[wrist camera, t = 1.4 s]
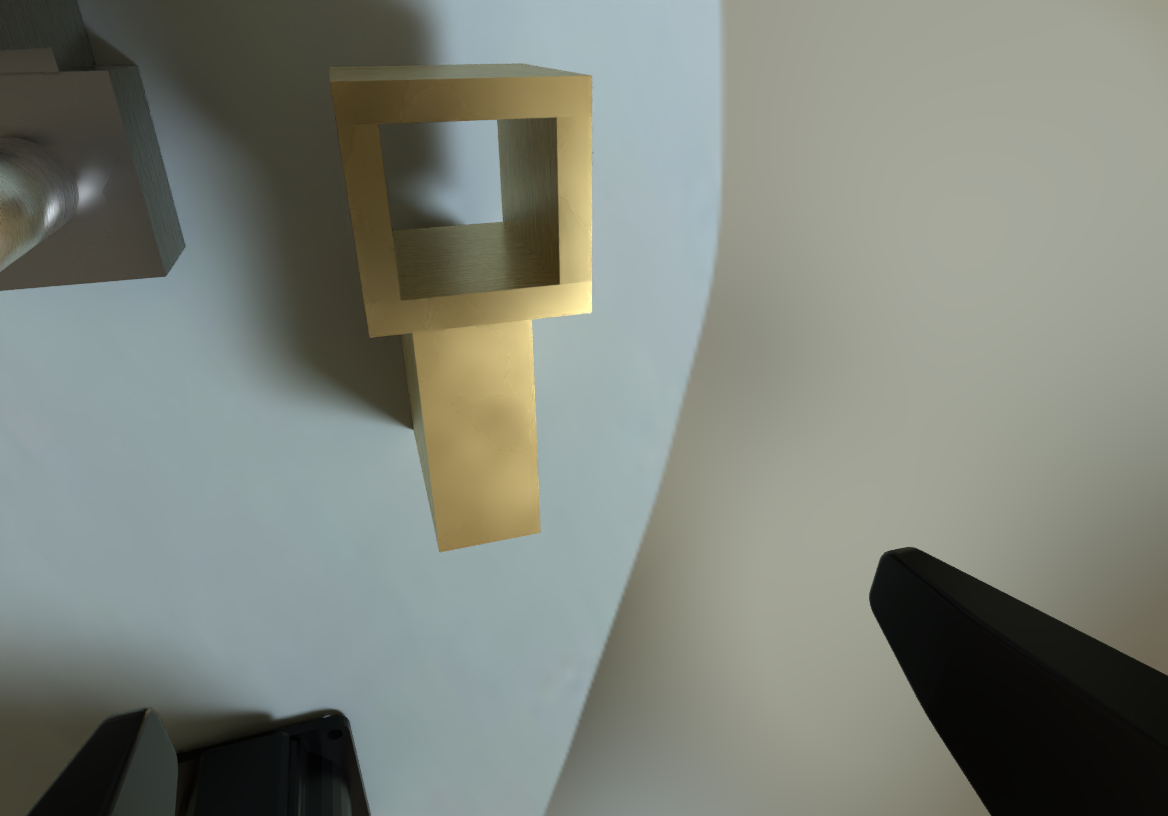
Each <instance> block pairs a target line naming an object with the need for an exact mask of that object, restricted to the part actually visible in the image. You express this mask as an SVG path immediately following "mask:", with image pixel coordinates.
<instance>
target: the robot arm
mask: <svg viewBox="0 0 1168 816" xmlns="http://www.w3.org/2000/svg"><path fill="white" fill-rule="evenodd" d="M869 600H870V606H871V609H872V612H873V614H874V616H875V618H876V620H877V621H878V623H879V625H880V627H881V629H882V631H883V633H884V635H885V637H886V639H887V640H888V643H889V645H890V646H891V648H892V651H893V652H894V654H895V656H896V658H897V660H898V662H899V664H900V666H901V668H902V670H903V672H904V674H905V676H906V677H907V680H908V681H909V683H910V685H911V687H912V689H913V691H914V693H915V695H916V697H917V699H918V701H919V702H920V704H921V706H922V708H923V709H924V711H925V713H926V715H927V716H928V718H929V720H930V721H931V723H932V725H933V726H934V728H935V729H936V731H937V733H938V734H939V736H940V737H941V739H942V740H943V742H944V743H945V745H946V747H947V748H948V750H949V751H950V752H951V754H952V756H953V757H954V759H955V760H956V762H957V763H958V765H959V767H960V768H961V770H962V771H963V773H964V775H965V776H966V777H967V779H968V781H969V782H970V784H971V785H972V787H973V789H974V790H975V791H976V793H977V795H978V796H979V798H980V799H981V801H982V803H983V804H984V806H985V807H986V809H987V810H988V812H989V813H990V815H991V816H1168V675H1165V674H1163V673H1162V672H1159V671H1158V670H1156V669H1154V668H1152V667H1150V666H1148V665H1146V664H1144V663H1142V662H1140V661H1138V660H1136V659H1134V658H1132V657H1130V656H1128V655H1126V654H1124V653H1122V652H1120V651H1118V650H1116V649H1114V648H1112V647H1110V646H1108V645H1107V644H1105V643H1103V642H1100V641H1098V640H1097V639H1095V638H1092V637H1091V636H1089V635H1087V634H1085V633H1083V632H1081V631H1079V630H1077V629H1075V628H1073V627H1071V626H1069V625H1067V624H1065V623H1063V622H1061V621H1059V620H1057V619H1055V618H1053V617H1051V616H1049V615H1047V614H1045V613H1043V612H1041V611H1039V610H1038V609H1036V608H1034V607H1031V606H1030V605H1028V604H1026V603H1024V602H1022V601H1020V600H1018V599H1016V598H1014V597H1012V596H1010V595H1008V594H1006V593H1004V592H1002V591H1000V590H998V589H996V588H994V587H992V586H990V585H988V584H986V583H984V582H982V581H980V580H978V579H976V578H975V577H973V576H971V575H969V574H967V573H965V572H963V571H961V570H959V569H957V568H955V567H953V566H950V565H949V564H947V563H945V562H943V561H941V560H939V559H937V558H935V557H933V556H931V555H929V554H927V553H925V552H923V551H921V550H919V549H917V548H913V547H905V548H900V549H895V550H891V551H887V552H885V553H884V554H883V555H882V556H881V558H880V561H879V564H878V567H877V570H876V573H875V576H874V580H873V583H872V586H871V589H870V593H869ZM336 729H338V730H336ZM332 730H333V731H332ZM26 816H371V813H370V809H369V804H368V800H367V796H366V791H365V787H364V783H363V778H362V774H361V770H360V765H359V761H358V756H357V752H356V748H355V743H354V739H353V735H352V730H351V726H350V722H349V720H348V718H346V717H345V716H341V715H335V716H329V717H325V718H321V719H317V720H313V721H309V722H305V723H301V724H297V725H293V726H289V727H285V728H281V729H277V730H272V731H268V732H264V733H260V734H256V735H252V736H248V737H244V738H240V739H236V740H232V741H228V742H224V743H220V744H216V745H211V746H207V747H203V748H199V749H195V750H191V751H187V752H183V753H179V754H176V752H175V749H174V747H173V745H172V743H171V741H170V739H169V737H168V735H167V733H166V731H165V729H164V727H163V725H162V723H161V720H160V718H159V716H158V715H157V713H156V712H155V710H153V709H152V708H149V707H144V708H139V709H135V710H130V711H125V712H120V713H116V714H113V715H111V716H109V717H107V718H106V719H105V720H104V721H103V722H102V723H101V724H100V725H99V726H98V727H97V729H96V730H95V731H94V732H93V734H92V735H91V736H90V737H89V739H88V740H87V741H86V742H85V743H84V745H83V746H82V747H81V748H80V750H79V751H78V752H77V753H76V754H75V756H74V757H73V758H72V759H71V761H70V762H69V763H68V764H67V766H66V767H65V768H64V769H63V770H62V772H61V773H60V774H59V775H58V777H57V778H56V779H55V780H54V781H53V783H52V784H51V785H50V786H49V788H48V789H47V790H46V791H45V793H44V794H43V795H42V796H41V797H40V799H39V800H38V801H37V802H36V804H35V805H34V806H33V807H32V808H31V810H30V811H29V812H28V813H27V815H26Z"/></svg>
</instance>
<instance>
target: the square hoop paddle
mask: <svg viewBox="0 0 1168 816" xmlns="http://www.w3.org/2000/svg"><path fill="white" fill-rule="evenodd" d="M330 85H331V91H332V98H333V104H334V111H335V117H336V124H337V130H338V137H339V143H340V150H341V156H342V163H343V169H344V176H345V182H346V189H347V195H348V202H349V208H350V215H351V221H352V228H353V234H354V241H355V247H356V254H357V260H358V267H359V273H360V279H361V286H362V292H363V299H364V305H365V312H366V318H367V325H368V331H369V338H373V337H381V336H390V335H399V334H401V339H402V347H403V354H404V362H405V370H406V377H407V385H408V392H409V400H410V407H411V415H412V423H413V430H414V435H415V440H416V444H417V449H418V454H419V458H420V463H421V468H422V472H423V477H424V482H425V487H426V491H427V496H428V501H429V505H430V510H431V515H432V519H433V524H434V529H435V534H436V538H437V543H438V548H439V552H444V551H449V550H454V549H459V548H464V547H469V546H474V545H479V544H485V543H490V542H495V541H500V540H505V539H510V538H515V537H520V536H526V535H531V534H536V533H540V510H539V485H538V460H537V435H536V411H535V386H534V361H533V336H532V319H539V318H548V317H557V316H565V315H574V314H583V313H592V75H586V74H580V73H574V72H568V71H562V70H556V69H550V68H545V67H539V66H533V65H527V64H465V65H407V66H350V67H330ZM472 120H497V125H498V142H499V160H500V178H501V195H502V213H503V222H496V223H483V224H470V225H457V226H443V227H430V228H417V229H404V230H392V227H391V219H390V212H389V204H388V196H387V188H386V181H385V173H384V165H383V157H382V149H381V142H380V134H379V126H378V124H393V123H419V122H445V121H472Z"/></svg>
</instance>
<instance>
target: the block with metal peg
mask: <svg viewBox="0 0 1168 816" xmlns="http://www.w3.org/2000/svg"><path fill="white" fill-rule="evenodd" d="M184 248H185V243H184V239H183V235H182V232H181V228H180V224H179V220H178V216H177V213H176V209H175V205H174V201H173V198H172V194H171V190H170V186H169V183H168V179H167V175H166V171H165V168H164V164H163V160H162V156H161V152H160V149H159V145H158V141H157V137H156V134H155V130H154V126H153V122H152V119H151V115H150V111H149V107H148V103H147V100H146V96H145V92H144V88H143V85H142V81H141V77H140V73H139V70H138V66H137V65H136V66H96V65H95V61H94V58H93V55H92V51H91V48H90V44H89V41H88V37H87V34H86V30H85V27H84V24H83V20H82V17H81V13H80V10H79V6H78V3H77V0H0V291H2V290H14V289H26V288H37V287H49V286H60V285H72V284H84V283H95V282H107V281H118V280H130V279H142V278H153V277H165V276H167V274H168V273H169V271H170V270H171V268H172V267H173V265H174V264H175V262H176V261H177V259H178V258H179V256H180V255H181V253H182V252H183V250H184Z"/></svg>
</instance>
